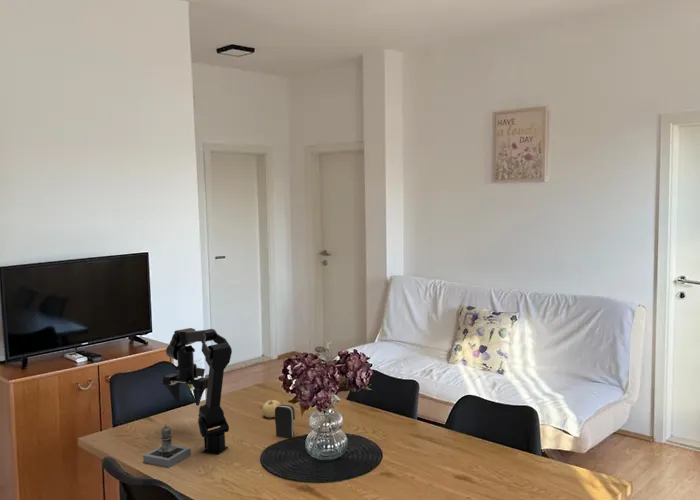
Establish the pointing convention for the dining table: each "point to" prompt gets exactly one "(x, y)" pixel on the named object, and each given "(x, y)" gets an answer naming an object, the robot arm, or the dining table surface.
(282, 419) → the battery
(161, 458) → the frame
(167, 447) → the grey tall tiered piece
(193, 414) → the dining table surface
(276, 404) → the onion
